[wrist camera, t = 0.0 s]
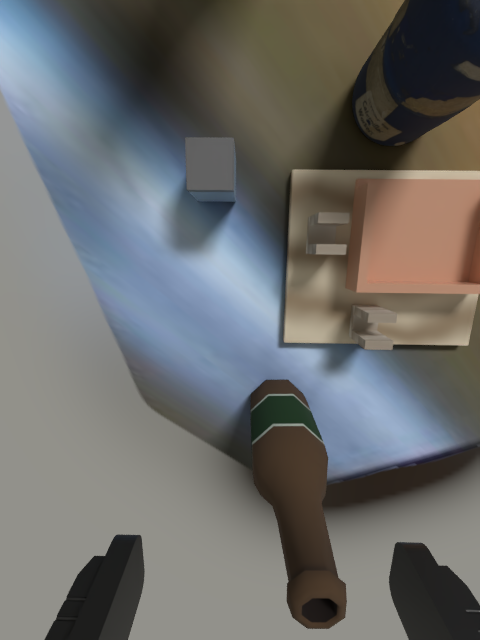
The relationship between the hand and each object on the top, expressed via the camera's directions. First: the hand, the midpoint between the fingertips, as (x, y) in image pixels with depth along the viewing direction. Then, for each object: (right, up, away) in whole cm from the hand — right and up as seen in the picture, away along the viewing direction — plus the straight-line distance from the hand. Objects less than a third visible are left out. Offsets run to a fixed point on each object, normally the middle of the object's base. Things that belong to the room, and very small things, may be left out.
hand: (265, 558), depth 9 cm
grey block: (-4, +24, +24) cm, 34 cm away
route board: (+16, +15, +26) cm, 34 cm away
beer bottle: (+4, -4, +31) cm, 32 cm away
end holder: (+19, +17, +24) cm, 36 cm away
